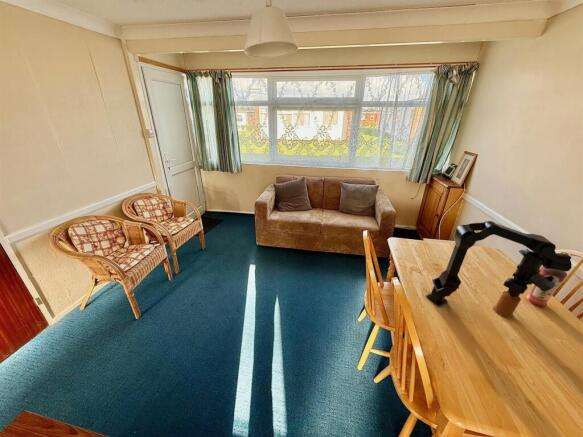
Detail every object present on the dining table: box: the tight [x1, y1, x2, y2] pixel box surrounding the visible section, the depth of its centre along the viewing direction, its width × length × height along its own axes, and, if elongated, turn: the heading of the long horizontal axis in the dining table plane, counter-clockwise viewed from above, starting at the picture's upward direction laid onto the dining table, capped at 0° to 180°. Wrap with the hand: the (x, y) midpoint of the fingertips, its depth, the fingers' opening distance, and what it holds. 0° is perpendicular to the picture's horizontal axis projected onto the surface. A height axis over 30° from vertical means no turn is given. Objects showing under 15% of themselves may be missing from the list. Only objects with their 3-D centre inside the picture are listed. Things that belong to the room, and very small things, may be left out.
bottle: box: [493, 290, 522, 318], centre depth 101 cm, size 6×6×13 cm
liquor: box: [526, 251, 571, 307], centre depth 102 cm, size 7×7×28 cm
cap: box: [506, 288, 521, 297], centre depth 98 cm, size 4×4×2 cm
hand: (513, 294), depth 99 cm, fingers closed on cap, 4 cm apart
